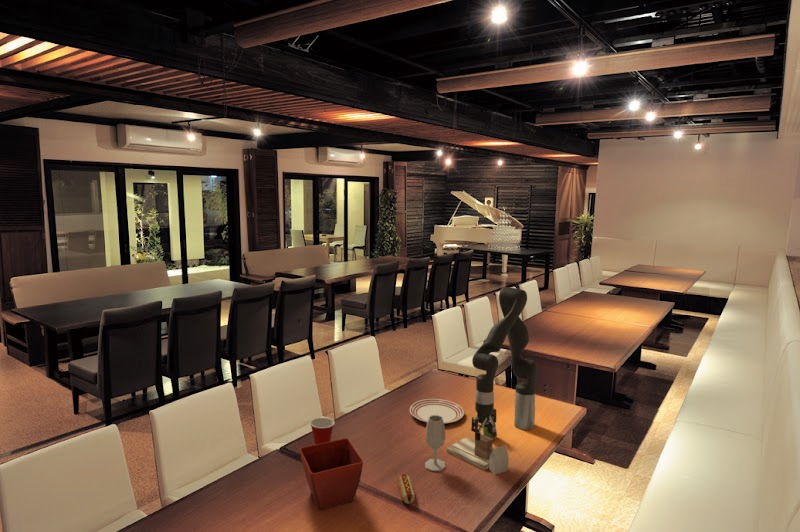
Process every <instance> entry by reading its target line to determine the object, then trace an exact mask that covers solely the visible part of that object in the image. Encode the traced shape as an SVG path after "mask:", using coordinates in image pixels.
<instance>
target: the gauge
mask: <svg viewBox="0 0 800 532" xmlns="http://www.w3.org/2000/svg"><path fill="white" fill-rule="evenodd" d="M474 440H475V439H474ZM493 441H494V440H493V439H492V438H489V437H487V436H485V435H484V434H482V433H481V434H480V441H477V440H475V448H474V450H475V455H476V456H478V457H480V458H482V459H485V460H488V459H489V458H490V454H491V452H492V448H493V444H494V443H493Z"/></svg>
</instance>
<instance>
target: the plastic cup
mask: <svg viewBox="0 0 800 532" xmlns="http://www.w3.org/2000/svg"><path fill="white" fill-rule="evenodd" d="M309 425H310V427H311V431H312V436H313V441H314V445H316V444H320V443H325V442H330V441H332V440H331V439H332V434H333V428H334V426H335V420H333V419H332V418H328V417H317V418H316V417H315V418H313V419H310V422H309Z"/></svg>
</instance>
